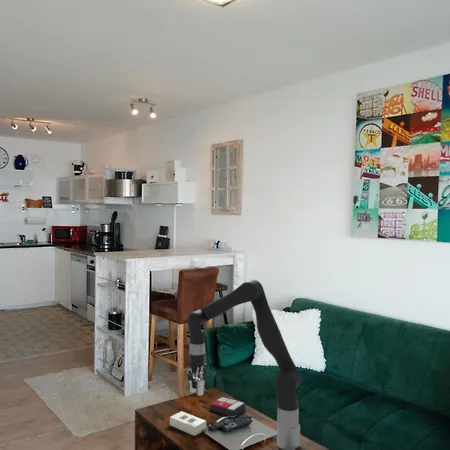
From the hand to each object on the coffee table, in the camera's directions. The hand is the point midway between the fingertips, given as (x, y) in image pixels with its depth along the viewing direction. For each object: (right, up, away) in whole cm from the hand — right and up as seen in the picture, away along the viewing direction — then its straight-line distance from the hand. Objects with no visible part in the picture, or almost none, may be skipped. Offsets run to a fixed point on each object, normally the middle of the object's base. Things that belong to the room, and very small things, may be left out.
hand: (196, 387), depth 221 cm
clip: (0, -3, 0) cm, 3 cm away
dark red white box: (+15, -18, +15) cm, 28 cm away
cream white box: (-4, -18, -4) cm, 18 cm away
